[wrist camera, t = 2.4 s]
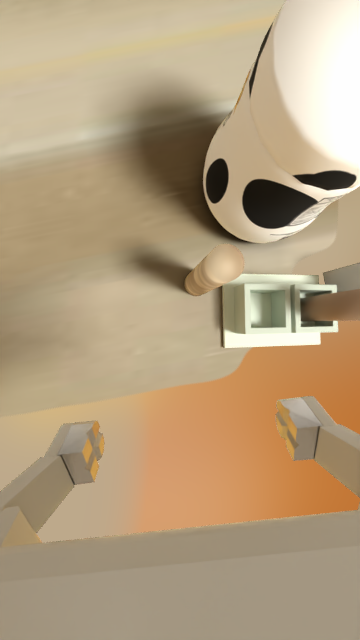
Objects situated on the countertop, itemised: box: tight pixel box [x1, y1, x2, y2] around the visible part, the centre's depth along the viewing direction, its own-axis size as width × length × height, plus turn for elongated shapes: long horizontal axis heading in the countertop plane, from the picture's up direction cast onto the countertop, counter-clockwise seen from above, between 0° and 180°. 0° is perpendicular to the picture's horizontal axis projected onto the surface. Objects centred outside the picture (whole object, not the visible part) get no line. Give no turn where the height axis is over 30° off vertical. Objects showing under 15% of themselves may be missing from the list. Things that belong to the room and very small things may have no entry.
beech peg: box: [184, 244, 244, 296], centre depth 28 cm, size 4×4×12 cm
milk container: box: [203, 0, 360, 243], centre depth 27 cm, size 17×17×18 cm
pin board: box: [222, 274, 360, 348], centre depth 30 cm, size 16×11×13 cm
